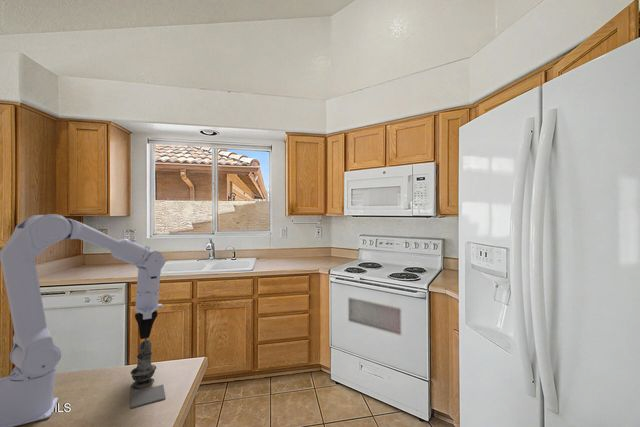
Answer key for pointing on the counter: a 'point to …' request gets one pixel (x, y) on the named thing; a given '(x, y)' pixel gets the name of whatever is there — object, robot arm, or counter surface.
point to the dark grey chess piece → (143, 367)
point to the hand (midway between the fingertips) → (144, 337)
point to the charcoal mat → (147, 396)
